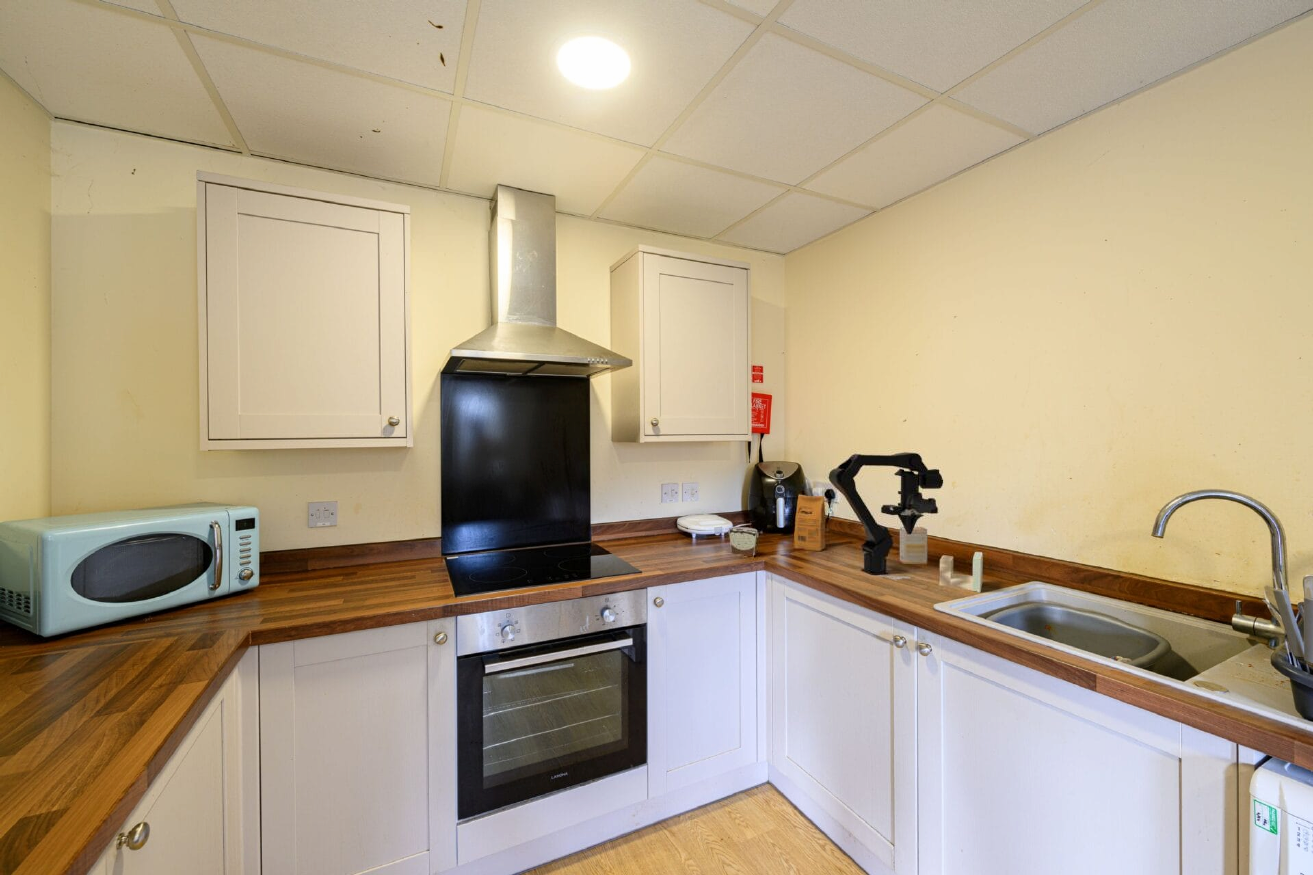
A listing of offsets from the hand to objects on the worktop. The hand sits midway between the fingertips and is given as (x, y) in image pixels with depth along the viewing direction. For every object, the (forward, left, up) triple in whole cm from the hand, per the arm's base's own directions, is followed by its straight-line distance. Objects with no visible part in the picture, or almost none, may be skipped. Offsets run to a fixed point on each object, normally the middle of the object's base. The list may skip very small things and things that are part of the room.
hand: (909, 534), depth 181 cm
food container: (-45, +36, -13) cm, 59 cm away
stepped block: (+4, -16, -13) cm, 21 cm away
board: (+8, -20, -13) cm, 26 cm away
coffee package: (-15, +40, -13) cm, 45 cm away
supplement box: (+10, +10, -13) cm, 19 cm away
